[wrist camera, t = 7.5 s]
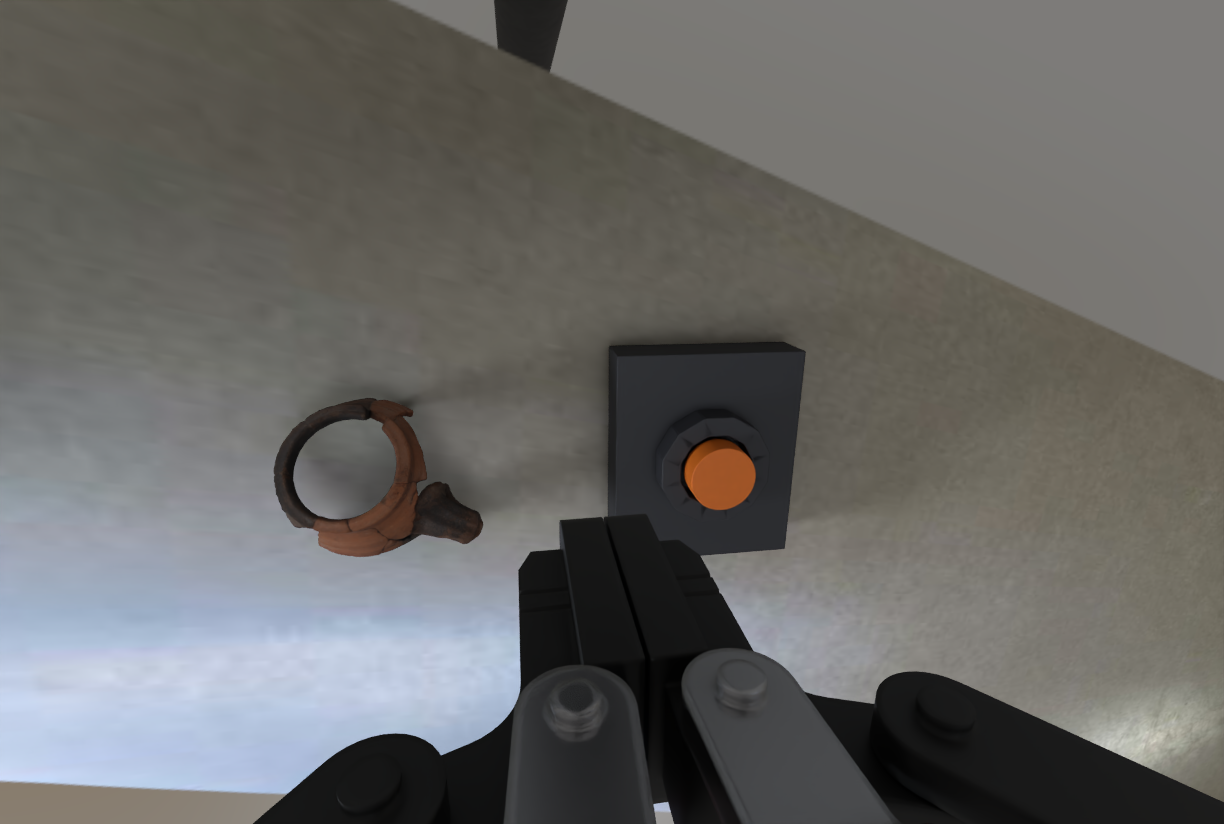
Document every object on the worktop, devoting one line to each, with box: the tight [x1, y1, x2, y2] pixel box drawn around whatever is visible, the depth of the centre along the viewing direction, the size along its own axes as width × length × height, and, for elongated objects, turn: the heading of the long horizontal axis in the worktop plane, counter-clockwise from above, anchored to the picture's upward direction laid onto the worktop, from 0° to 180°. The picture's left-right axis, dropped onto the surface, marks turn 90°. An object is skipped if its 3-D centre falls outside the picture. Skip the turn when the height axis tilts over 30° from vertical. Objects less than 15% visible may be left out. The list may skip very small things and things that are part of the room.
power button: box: [684, 439, 756, 510], centre depth 36 cm, size 4×4×2 cm
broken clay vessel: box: [274, 398, 483, 557], centre depth 36 cm, size 12×10×8 cm
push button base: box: [608, 342, 806, 556], centre depth 39 cm, size 14×12×5 cm
